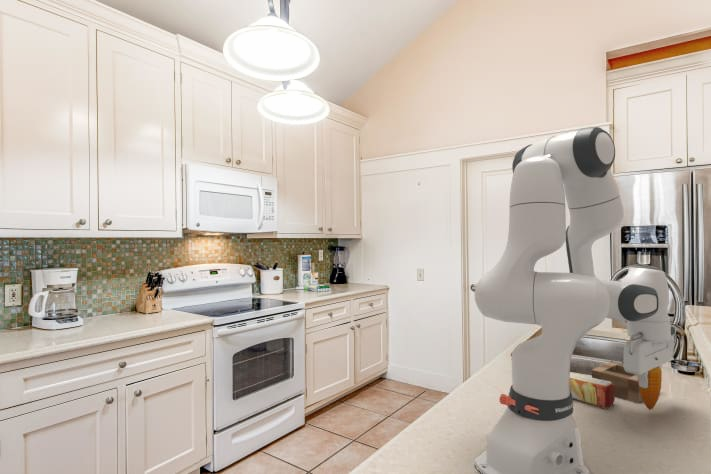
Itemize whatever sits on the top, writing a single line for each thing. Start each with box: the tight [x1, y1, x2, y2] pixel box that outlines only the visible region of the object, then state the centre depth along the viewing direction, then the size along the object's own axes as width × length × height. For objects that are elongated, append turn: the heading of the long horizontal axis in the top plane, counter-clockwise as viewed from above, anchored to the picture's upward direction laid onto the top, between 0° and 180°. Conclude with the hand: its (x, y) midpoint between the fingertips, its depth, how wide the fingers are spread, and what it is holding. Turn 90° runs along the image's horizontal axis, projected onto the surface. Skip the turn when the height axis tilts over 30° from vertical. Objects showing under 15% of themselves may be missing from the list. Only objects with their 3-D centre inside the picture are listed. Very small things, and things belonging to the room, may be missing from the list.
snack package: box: [570, 372, 616, 409], centre depth 115 cm, size 21×7×7 cm, turn 35°
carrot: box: [638, 357, 663, 411], centre depth 102 cm, size 5×5×15 cm
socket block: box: [591, 361, 644, 404], centre depth 117 cm, size 12×12×6 cm
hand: (649, 384), depth 102 cm, fingers closed on carrot, 4 cm apart
